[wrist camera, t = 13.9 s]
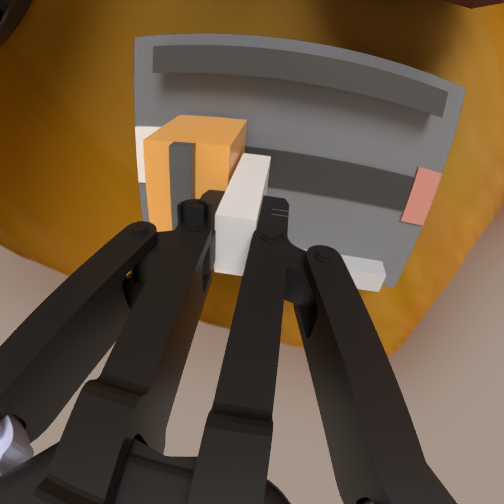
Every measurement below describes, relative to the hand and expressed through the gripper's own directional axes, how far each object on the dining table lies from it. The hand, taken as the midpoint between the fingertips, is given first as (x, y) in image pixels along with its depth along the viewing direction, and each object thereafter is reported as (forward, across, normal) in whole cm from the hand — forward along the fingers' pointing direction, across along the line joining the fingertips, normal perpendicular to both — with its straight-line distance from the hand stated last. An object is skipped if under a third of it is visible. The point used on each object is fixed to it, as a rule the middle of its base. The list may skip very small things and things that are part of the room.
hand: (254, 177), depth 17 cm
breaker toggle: (+2, -3, 0) cm, 3 cm away
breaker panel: (+6, +2, 0) cm, 7 cm away
